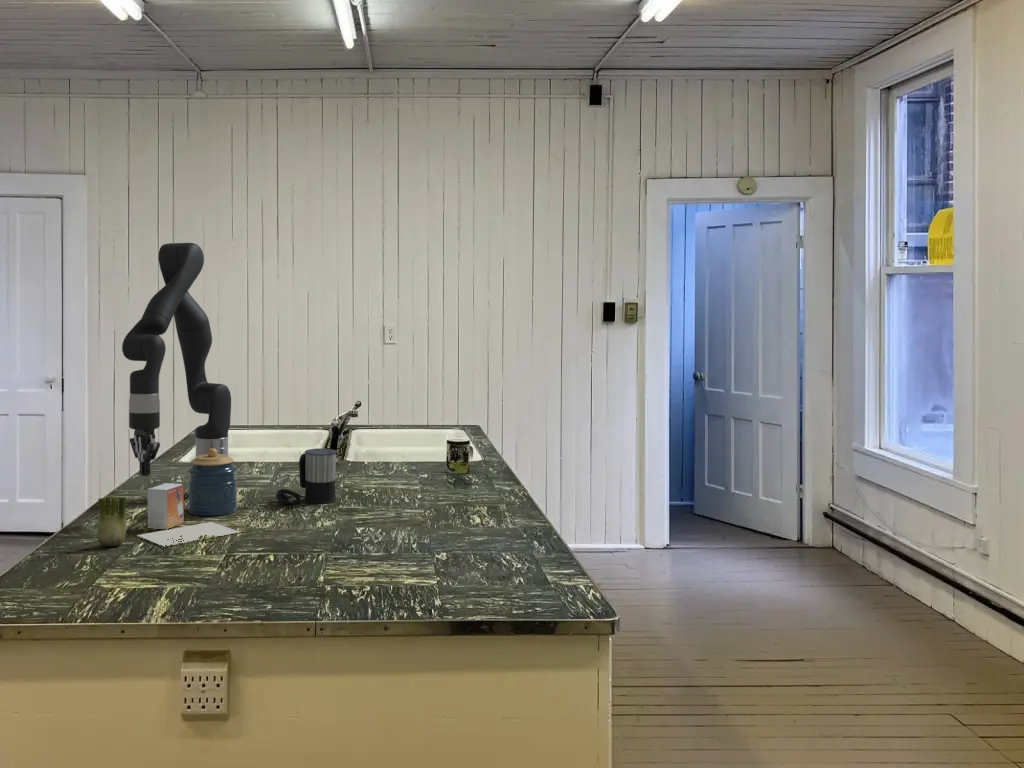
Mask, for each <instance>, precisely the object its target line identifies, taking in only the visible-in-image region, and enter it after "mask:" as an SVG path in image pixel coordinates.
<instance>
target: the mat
mask: <svg viewBox="0 0 1024 768" xmlns="http://www.w3.org/2000/svg"><path fill="white" fill-rule="evenodd" d="M234 533H240V534H241V531H239V530H235V529H233V528H230V527H227V526H224V525H222V524H219V523H217V522H213V521H209V522H202V523H197V524H193V525H187V526H186V525H185V526H180V527H174V528H171V529H169V530H159V531H154V532H147V533H142V534H137V535H136V537H137V538H139V537H140V538H139V539H141V538H143V539H142V540H144V539H146V540H149V541H151V542H153V543H156V544H159V545H162V546H164V547H165V545H167V546H170V545H171V544H172V545H176V544H178V543H186V542H188V541H190V542H191V541H193V540H194V541H195V540H197V539H198V540H199V538H198V537H200V536H201V535H202V536H203V535H204V534H205V535H209V536H212V535H214V536H215V537H217V536H224V535H230V534H234ZM181 535H182V537H180V536H181ZM230 536H231V535H230ZM172 538H173V539H172ZM182 538H183V539H182ZM167 539H169V540H167ZM178 539H182V540H178ZM146 540H145V541H146ZM173 540H174V541H173ZM176 540H177V541H176ZM183 540H184V541H183ZM178 541H182V542H178ZM151 542H150V543H151ZM173 542H174V543H173ZM153 543H152V544H153Z"/></svg>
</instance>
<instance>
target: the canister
mask: <svg viewBox="0 0 1024 768" xmlns="http://www.w3.org/2000/svg"><path fill="white" fill-rule="evenodd" d="M233 463H234V459H233V458H232V457H230V456H229V454H228V455H224V454H217V450H216V449H215V448H210V449H209V450H208V452H207V454H206V455H200V456H197V457H196V456H195V458H192V460H190V464H192V465H191V467H189V468H188V469H187V473H189V479H188V481H187V484H188V492H187V493H188V503H187V508H188V513H189V514H191V515H194V516H198V515H199V517H200V516H202V517H217V516H224V515H228V514H229V515H230V514H232V513H235V512H236V511H237V507H238V500H237V492H238V491H237V489H238V488H237V483H238V479H237V478H236V471H237V470H238V468H237V466H235V465H234V464H233Z"/></svg>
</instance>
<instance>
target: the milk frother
mask: <svg viewBox="0 0 1024 768" xmlns="http://www.w3.org/2000/svg"><path fill="white" fill-rule="evenodd" d="M337 452H338V451H337V450H336V449H332V448H321V447H320V448H310V449H306V450H304V453H302V454H301V455H300V457H299V460H298V461H299V462H298V464H299V466H298V468H299V470H298V471H299V486H300V489H305V490H304V492H305V493H304V496H303V495H301V494H299V493H297V492H295V491H292V490H290V489H285V488H284V489H283V488H281V489H279V490H277V492H276V494H275V497H276V499H277V500H278V501H279V502H281V503H282V504H284V505H296V504H299V503H300V501H301V498H304V499H303V501H304V502H305V503H306V502H307V503H309V504H328V503H329V504H330V503H334V502H336V501H337V498H336V468H337V467H336V465H337V463H336V461H337V459H336V457H337V456H336V454H337ZM292 497H294V498H295V499H293V500H292V499H291V498H292Z"/></svg>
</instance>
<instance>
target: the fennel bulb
mask: <svg viewBox="0 0 1024 768" xmlns="http://www.w3.org/2000/svg"><path fill="white" fill-rule="evenodd" d="M97 501H98V509H99V510H98V513H99V514H98V515H99V517H98V521H97V522H98V523H97V530H96V531H97V533H96V535H97V536H96V537H97V541H98V543H99V545H100V546H103V547H106V548H108V547H109V548H111V547H118V546H121V545H122V544H123V543H124V542H125V539H126V534H127V518H126V496H120V497H119V503H118V496H117V495H116V496H105V497H100V498H99V497H98V499H97Z"/></svg>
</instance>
